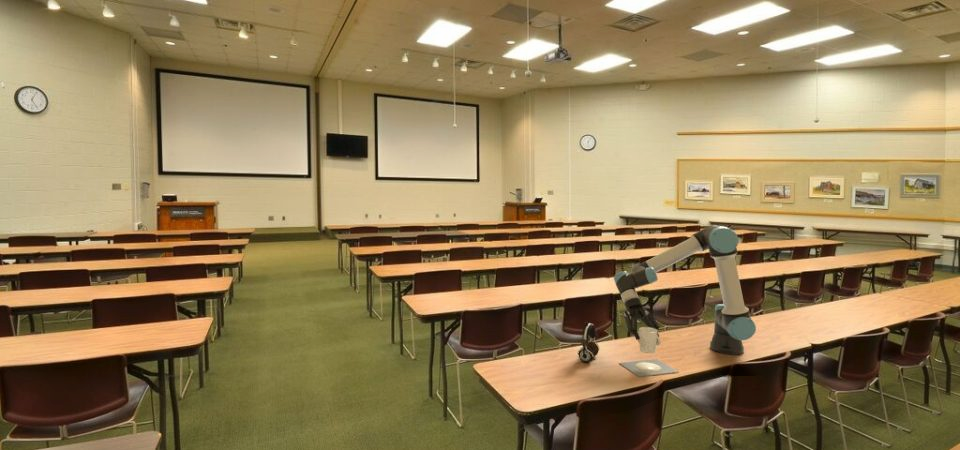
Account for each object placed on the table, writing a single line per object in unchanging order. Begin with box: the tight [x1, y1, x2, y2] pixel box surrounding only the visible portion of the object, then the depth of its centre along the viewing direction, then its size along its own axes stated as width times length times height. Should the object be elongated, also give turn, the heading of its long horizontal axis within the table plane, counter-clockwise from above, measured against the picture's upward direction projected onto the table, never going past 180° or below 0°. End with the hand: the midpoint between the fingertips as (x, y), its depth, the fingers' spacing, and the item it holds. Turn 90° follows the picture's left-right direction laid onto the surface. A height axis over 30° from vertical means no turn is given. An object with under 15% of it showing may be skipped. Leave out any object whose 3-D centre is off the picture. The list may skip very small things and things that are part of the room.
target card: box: [618, 358, 679, 378], centre depth 208 cm, size 20×16×1 cm
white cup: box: [638, 326, 658, 354], centre depth 207 cm, size 8×8×10 cm
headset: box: [577, 321, 600, 363], centre depth 218 cm, size 17×8×20 cm, turn 150°
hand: (650, 345), depth 205 cm, fingers closed on white cup, 8 cm apart
